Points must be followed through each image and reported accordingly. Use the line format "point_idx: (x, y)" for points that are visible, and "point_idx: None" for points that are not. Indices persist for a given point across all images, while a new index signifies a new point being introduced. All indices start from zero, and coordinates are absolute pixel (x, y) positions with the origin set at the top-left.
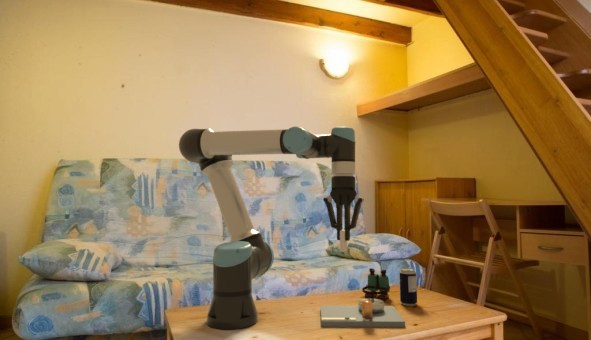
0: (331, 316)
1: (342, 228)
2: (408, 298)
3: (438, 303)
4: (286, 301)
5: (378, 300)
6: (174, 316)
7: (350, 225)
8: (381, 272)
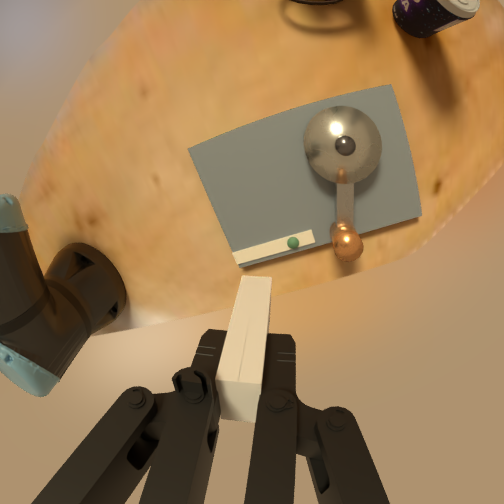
0: (249, 229)
1: (211, 386)
2: (424, 34)
3: None
4: (88, 114)
5: (363, 124)
6: None
7: (308, 459)
8: None
